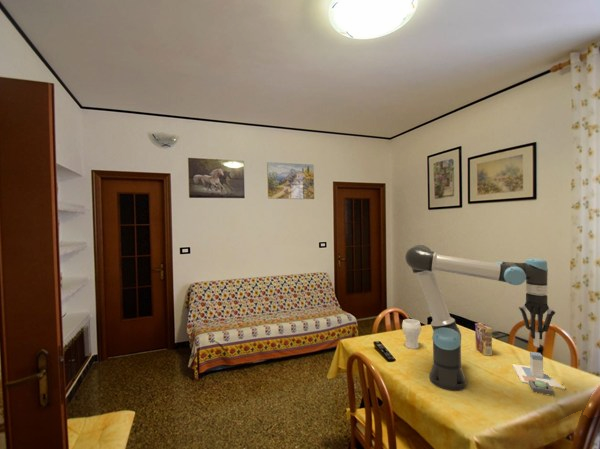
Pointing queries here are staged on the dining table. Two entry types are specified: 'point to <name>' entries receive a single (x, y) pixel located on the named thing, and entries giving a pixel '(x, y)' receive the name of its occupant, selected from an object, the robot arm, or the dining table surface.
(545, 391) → the button housing
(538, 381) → the button
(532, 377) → the picture card
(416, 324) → the cup
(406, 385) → the dining table surface
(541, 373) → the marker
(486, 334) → the candy box
